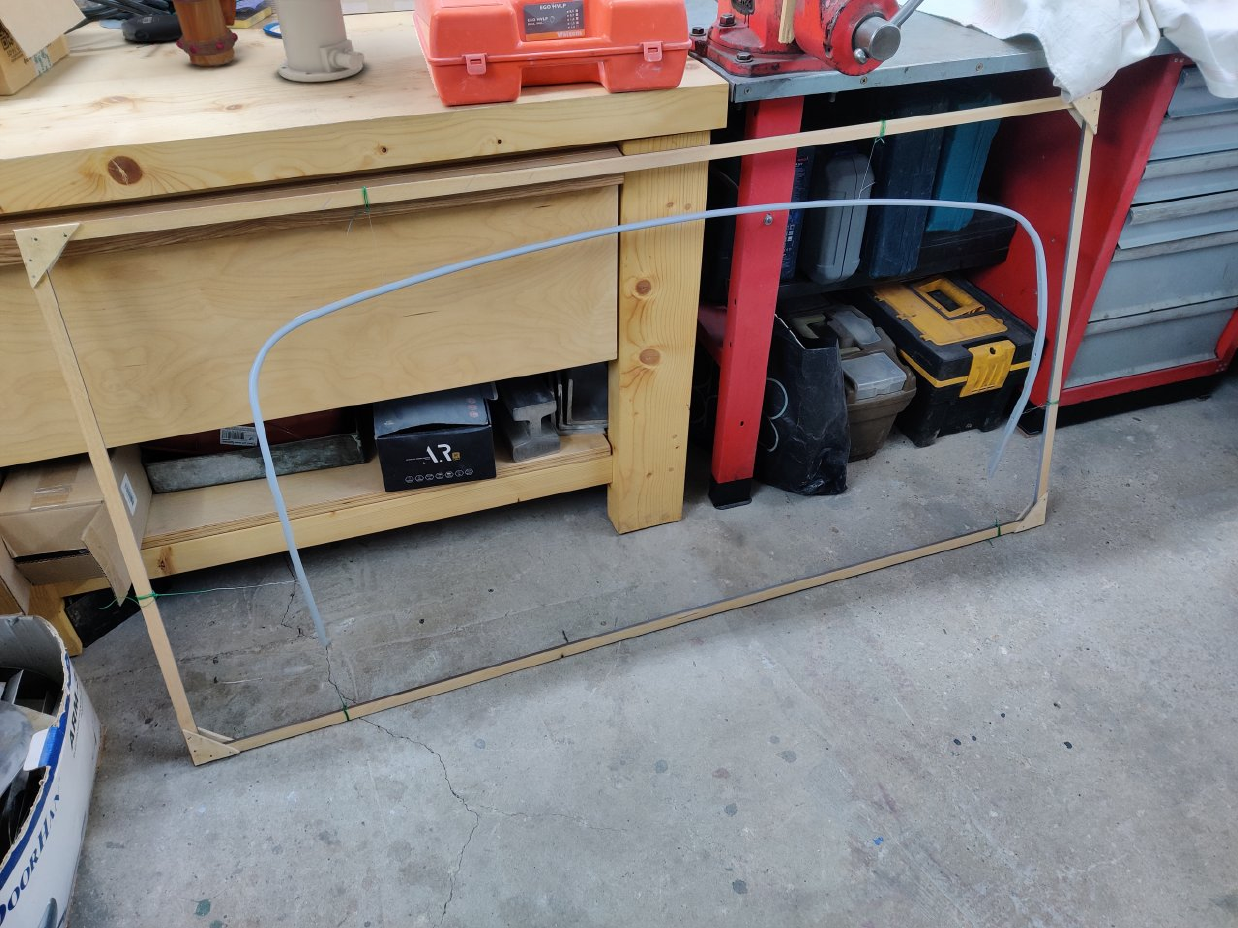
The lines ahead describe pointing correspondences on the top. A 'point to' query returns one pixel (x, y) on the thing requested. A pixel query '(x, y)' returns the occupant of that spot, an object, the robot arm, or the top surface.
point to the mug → (207, 30)
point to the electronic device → (152, 28)
